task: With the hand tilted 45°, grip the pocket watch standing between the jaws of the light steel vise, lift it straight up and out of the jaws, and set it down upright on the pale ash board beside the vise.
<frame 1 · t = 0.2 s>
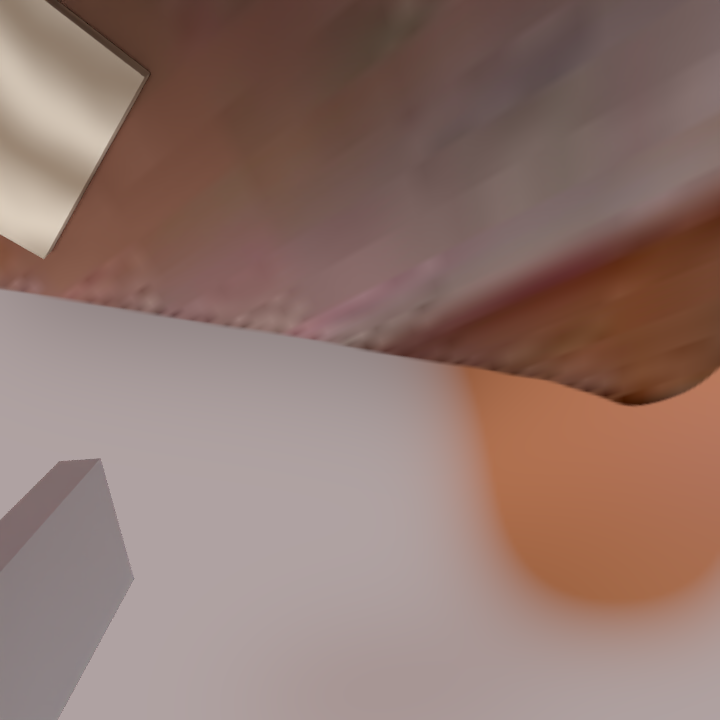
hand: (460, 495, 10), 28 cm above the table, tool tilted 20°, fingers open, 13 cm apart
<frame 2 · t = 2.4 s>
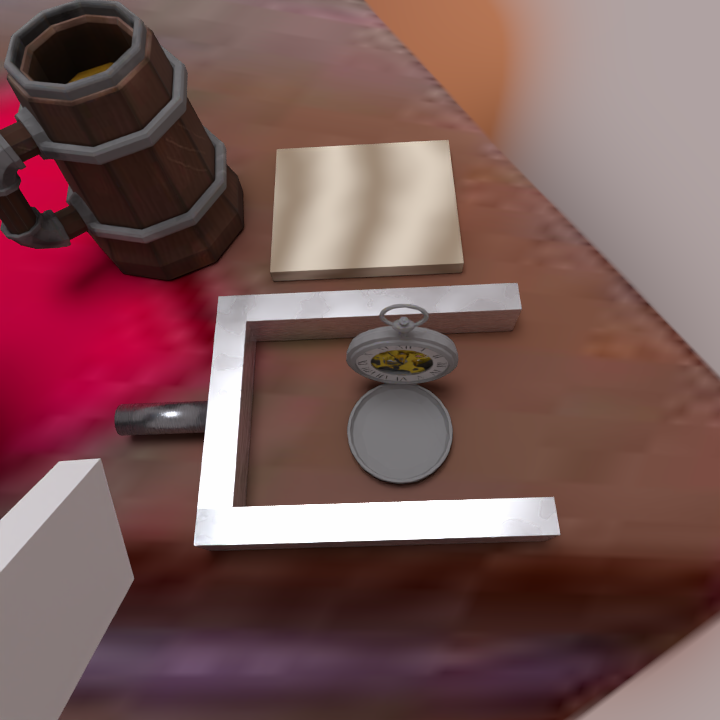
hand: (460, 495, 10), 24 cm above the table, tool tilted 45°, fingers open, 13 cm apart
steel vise: (402, 416, 35), on the table
ash board: (364, 212, 43), on the table
pocket watch: (402, 418, 36), resting in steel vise
mug: (152, 235, 43), on the table
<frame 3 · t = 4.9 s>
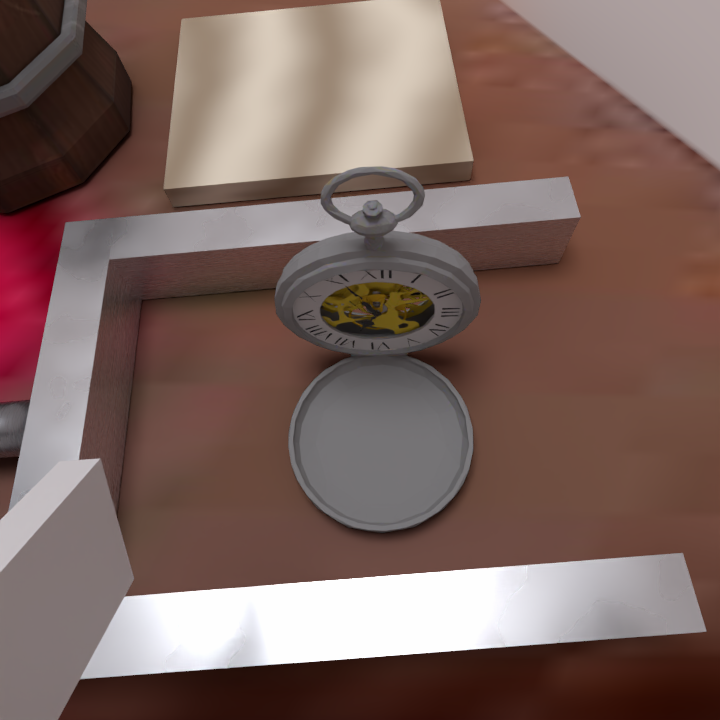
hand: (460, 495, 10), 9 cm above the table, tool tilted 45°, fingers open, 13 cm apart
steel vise: (384, 411, 21), on the table
ash board: (316, 103, 28), on the table
pocket watch: (384, 414, 21), resting in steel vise
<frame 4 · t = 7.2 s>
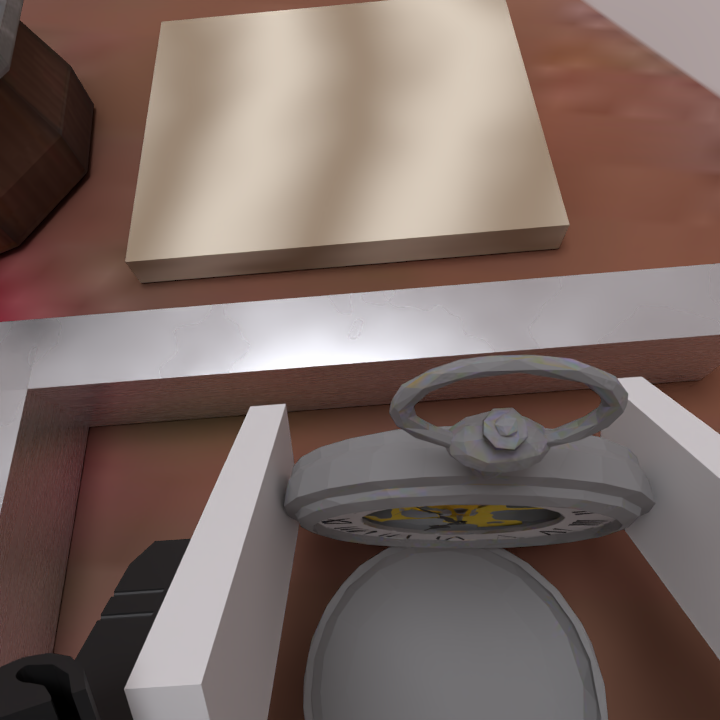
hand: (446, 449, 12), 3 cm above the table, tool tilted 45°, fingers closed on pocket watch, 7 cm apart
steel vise: (451, 629, 13), on the table
ash board: (339, 135, 21), on the table
pocket watch: (451, 630, 13), resting in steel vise, touching gripper
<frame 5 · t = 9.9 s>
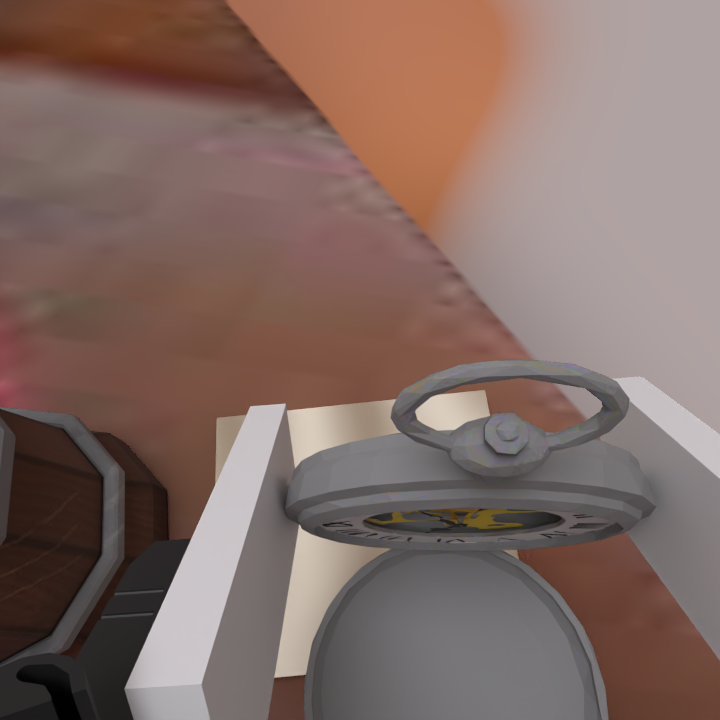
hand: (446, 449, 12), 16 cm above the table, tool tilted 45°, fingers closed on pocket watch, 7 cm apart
ash board: (362, 526, 27), on the table
pocket watch: (452, 632, 13), point 12 cm above the table, touching gripper
mug: (22, 582, 27), on the table
when the fingers open (6 cm above the table, at t = 12.7 s): pocket watch stays where it is, resting on ash board.
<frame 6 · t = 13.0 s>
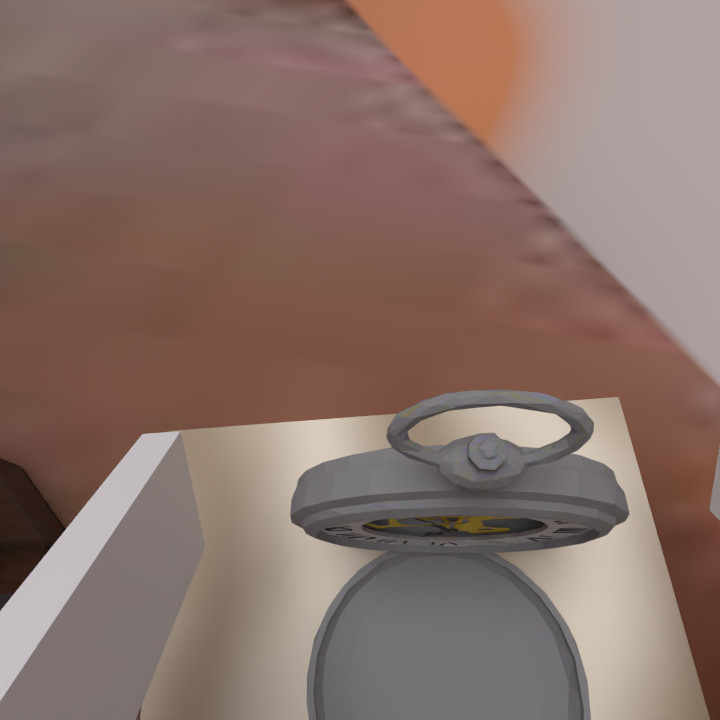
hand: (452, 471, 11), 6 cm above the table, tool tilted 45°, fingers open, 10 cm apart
ash board: (409, 629, 15), on the table
pocket watch: (445, 630, 14), point 1 cm above the table, touching ash board
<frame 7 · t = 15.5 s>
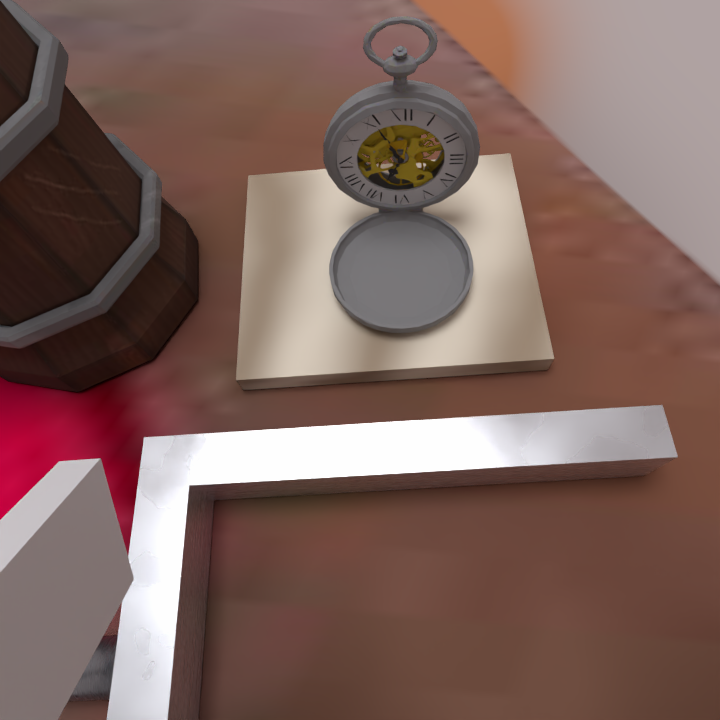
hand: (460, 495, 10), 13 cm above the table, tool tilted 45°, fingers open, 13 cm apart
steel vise: (467, 648, 20), on the table
ash board: (385, 271, 27), on the table
pocket watch: (404, 259, 26), point 1 cm above the table, touching ash board
mug: (59, 315, 28), on the table
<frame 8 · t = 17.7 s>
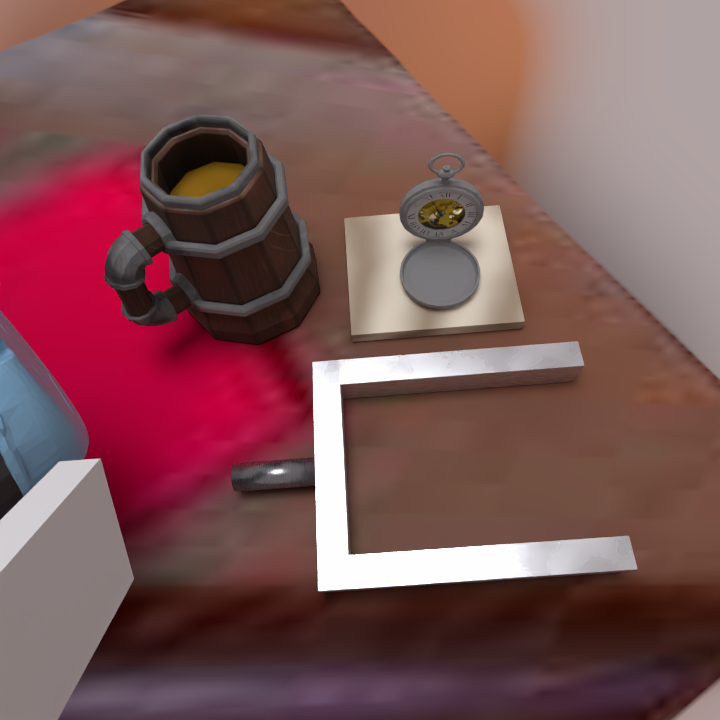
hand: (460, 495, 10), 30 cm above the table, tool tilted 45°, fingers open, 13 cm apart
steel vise: (481, 464, 40), on the table
ash board: (428, 274, 47), on the table
pocket watch: (440, 267, 46), point 1 cm above the table, touching ash board
mug: (236, 301, 48), on the table
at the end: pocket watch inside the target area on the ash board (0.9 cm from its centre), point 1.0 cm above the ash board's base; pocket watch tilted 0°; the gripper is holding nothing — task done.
